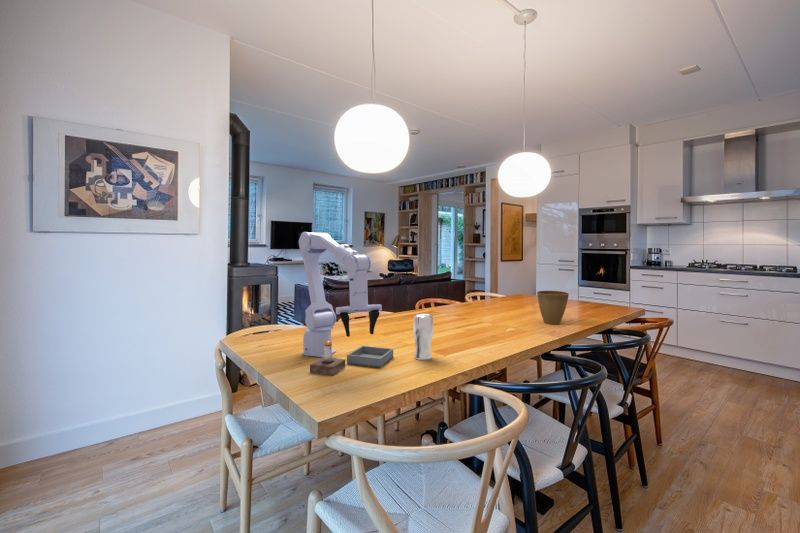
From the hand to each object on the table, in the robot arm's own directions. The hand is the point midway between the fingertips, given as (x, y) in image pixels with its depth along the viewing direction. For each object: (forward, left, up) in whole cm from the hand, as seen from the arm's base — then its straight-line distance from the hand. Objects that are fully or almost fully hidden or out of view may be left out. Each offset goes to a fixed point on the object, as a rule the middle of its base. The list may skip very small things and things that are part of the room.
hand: (359, 334), depth 115 cm
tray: (0, +8, -11) cm, 13 cm away
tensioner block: (-9, -5, -11) cm, 15 cm away
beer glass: (+16, +17, -11) cm, 26 cm away
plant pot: (+63, +95, -11) cm, 115 cm away
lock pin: (-9, -5, -11) cm, 15 cm away
